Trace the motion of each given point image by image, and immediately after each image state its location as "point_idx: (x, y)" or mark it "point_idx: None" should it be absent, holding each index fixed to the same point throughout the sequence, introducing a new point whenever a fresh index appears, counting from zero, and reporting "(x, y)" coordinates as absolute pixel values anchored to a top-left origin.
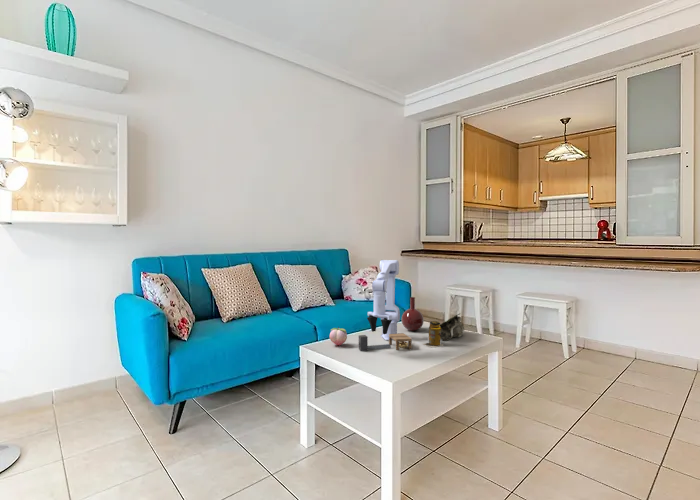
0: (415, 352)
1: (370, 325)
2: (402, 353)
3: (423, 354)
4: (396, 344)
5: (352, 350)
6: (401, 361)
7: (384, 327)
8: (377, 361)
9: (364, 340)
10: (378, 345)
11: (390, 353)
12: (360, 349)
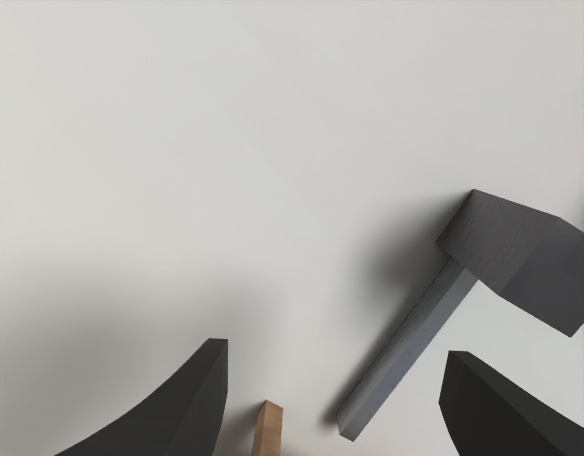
0: None
1: (545, 406)
2: None
3: (72, 442)
4: (265, 436)
5: (551, 156)
6: (51, 220)
7: (141, 405)
8: (174, 77)
9: (499, 247)
10: (400, 353)
11: (247, 313)
12: (483, 192)
